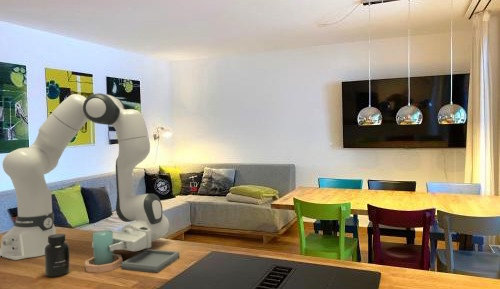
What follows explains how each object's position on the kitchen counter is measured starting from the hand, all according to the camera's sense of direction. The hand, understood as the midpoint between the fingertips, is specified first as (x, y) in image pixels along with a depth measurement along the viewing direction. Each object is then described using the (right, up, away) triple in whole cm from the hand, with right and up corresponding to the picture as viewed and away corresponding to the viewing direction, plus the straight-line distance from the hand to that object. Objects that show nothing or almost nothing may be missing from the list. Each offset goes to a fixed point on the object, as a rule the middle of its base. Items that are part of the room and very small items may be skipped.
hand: (101, 247), depth 121 cm
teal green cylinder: (+1, -6, +1) cm, 7 cm away
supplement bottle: (-12, -7, -4) cm, 14 cm away
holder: (+1, -6, +1) cm, 7 cm away
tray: (+16, -6, +2) cm, 17 cm away
